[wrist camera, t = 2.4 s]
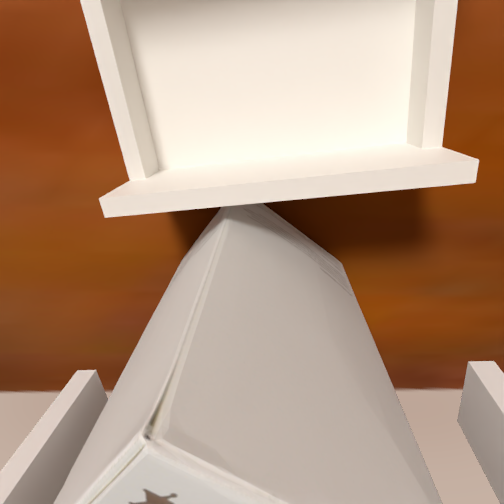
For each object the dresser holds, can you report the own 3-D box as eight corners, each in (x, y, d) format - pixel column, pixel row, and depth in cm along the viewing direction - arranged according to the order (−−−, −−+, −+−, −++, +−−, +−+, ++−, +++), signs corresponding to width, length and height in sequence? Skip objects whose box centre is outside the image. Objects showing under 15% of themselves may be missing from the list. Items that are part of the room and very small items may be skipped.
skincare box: (180, 258, 21) (-17, 580, 7) (242, 176, 19) (124, 428, 5) (283, 328, 23) (284, 700, 9) (352, 262, 20) (508, 636, 6)
